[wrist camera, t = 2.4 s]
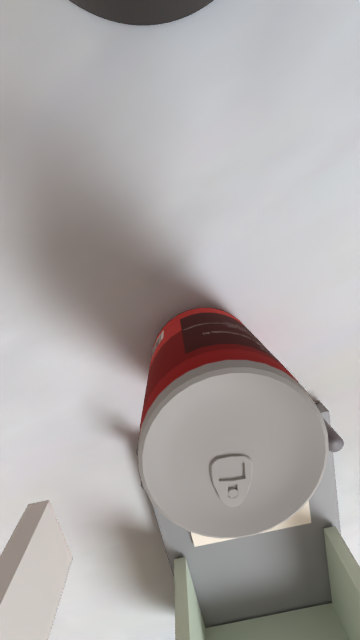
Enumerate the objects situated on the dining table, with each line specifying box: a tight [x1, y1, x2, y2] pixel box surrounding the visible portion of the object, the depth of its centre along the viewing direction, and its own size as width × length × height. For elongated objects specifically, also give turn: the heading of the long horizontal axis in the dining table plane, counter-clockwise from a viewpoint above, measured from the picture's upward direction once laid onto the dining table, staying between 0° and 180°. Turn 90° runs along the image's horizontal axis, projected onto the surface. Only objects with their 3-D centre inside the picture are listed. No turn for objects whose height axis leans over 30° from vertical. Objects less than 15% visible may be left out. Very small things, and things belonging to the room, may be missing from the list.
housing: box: [174, 526, 360, 640], centre depth 23 cm, size 10×14×6 cm
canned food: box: [138, 308, 329, 539], centre depth 17 cm, size 8×8×11 cm
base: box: [137, 403, 344, 628], centre depth 24 cm, size 22×15×4 cm
